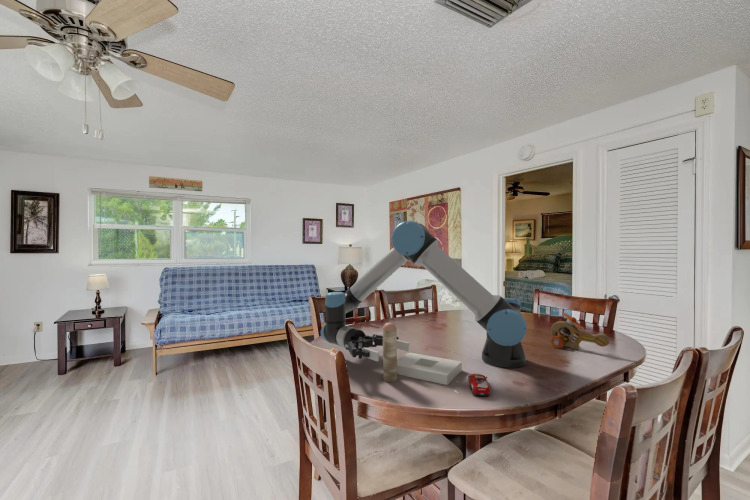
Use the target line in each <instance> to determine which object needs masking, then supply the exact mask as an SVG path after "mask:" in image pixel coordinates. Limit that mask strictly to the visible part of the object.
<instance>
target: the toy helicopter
mask: <svg viewBox="0 0 750 500" xmlns="http://www.w3.org/2000/svg"><path fill="white" fill-rule="evenodd" d="M561 314H562V316H564V317H566V318H567V319H566V321H565V320H560V321H559V320H558V321H556V322H554V323H553V324H552V325H551V328H550V332H551V336H552V337H550V345H551V346H552V347H553V348H555V349H561V348H563V347H566V348H567V347H569V348H571V349H572V350H578V349H579V348H580V343H581V342H587V343H588V342H589V343H594V344H596V345H597V346H599V347H603V348H604V347H606V346H608V345H610V344H611V343H610V342H611V341H610V339H611V338H609V336H608V335H607V334H605V333H604V332H603V333H602V332H600V333H597V334H594V333H591V332H586V331H581V330H580V329H582V330H585V327H584V326H582V324H581V323H579V322H578V321H577V318H576V317H574V316H571V315H570V314H568V313H564V312H562V313H561Z"/></svg>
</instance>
